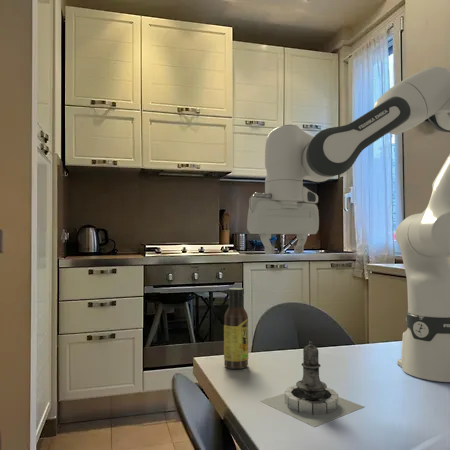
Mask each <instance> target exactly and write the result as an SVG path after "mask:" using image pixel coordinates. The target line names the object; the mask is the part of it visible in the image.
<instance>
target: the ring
mask: <svg viewBox="0 0 450 450" xmlns="http://www.w3.org/2000/svg"><path fill="white" fill-rule="evenodd" d="M284 393H285V404H286V405H287V407H288V408H289V409H292V410H294V411H296V412H299V413H304V414H310V415H312V414H313V415H323V414H329V413H332V412H334V411H336V410H337V408H338V406H339V399H338V397H339V394H338V392H337V391H335V390H334V389H333V388H329V387H327V388H326V389H325V393H324V395H323V397H322V399H325V400H323V401H308V400H302V399H299V398H298V397H302V396H301V395H300V394H299V392H298V387H297V386H296V384H295V385H292V386H289V387H287V388H286V390H285V391H284Z"/></svg>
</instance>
